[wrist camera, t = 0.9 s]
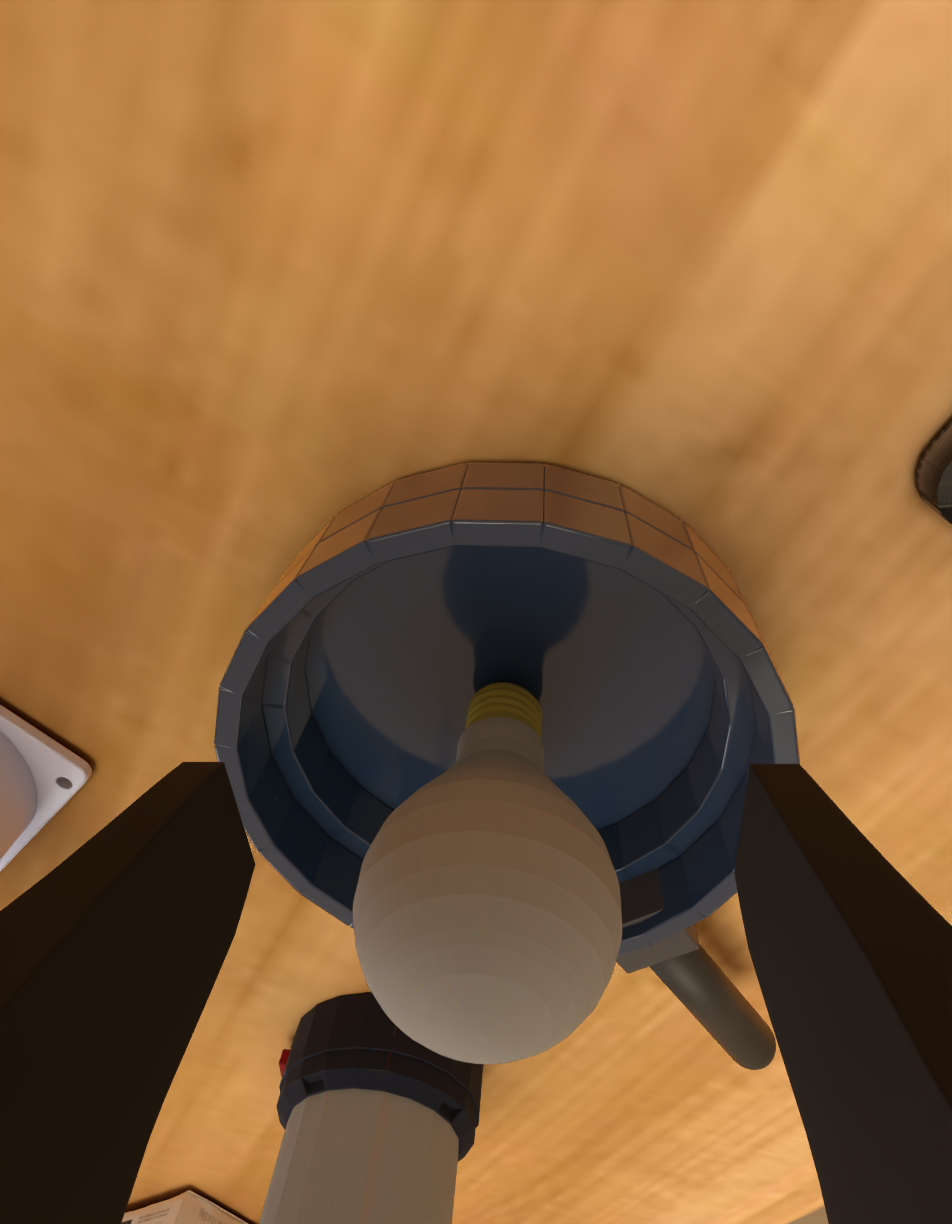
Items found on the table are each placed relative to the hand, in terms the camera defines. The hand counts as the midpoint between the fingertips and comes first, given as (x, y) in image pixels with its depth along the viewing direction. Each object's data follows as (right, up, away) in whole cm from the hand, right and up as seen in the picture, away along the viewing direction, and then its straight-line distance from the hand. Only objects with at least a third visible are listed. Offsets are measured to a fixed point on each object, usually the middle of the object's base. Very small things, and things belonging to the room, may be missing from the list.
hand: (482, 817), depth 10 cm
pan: (+1, +1, +12) cm, 12 cm away
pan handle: (+7, -8, +14) cm, 17 cm away
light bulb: (+1, 0, +11) cm, 12 cm away
